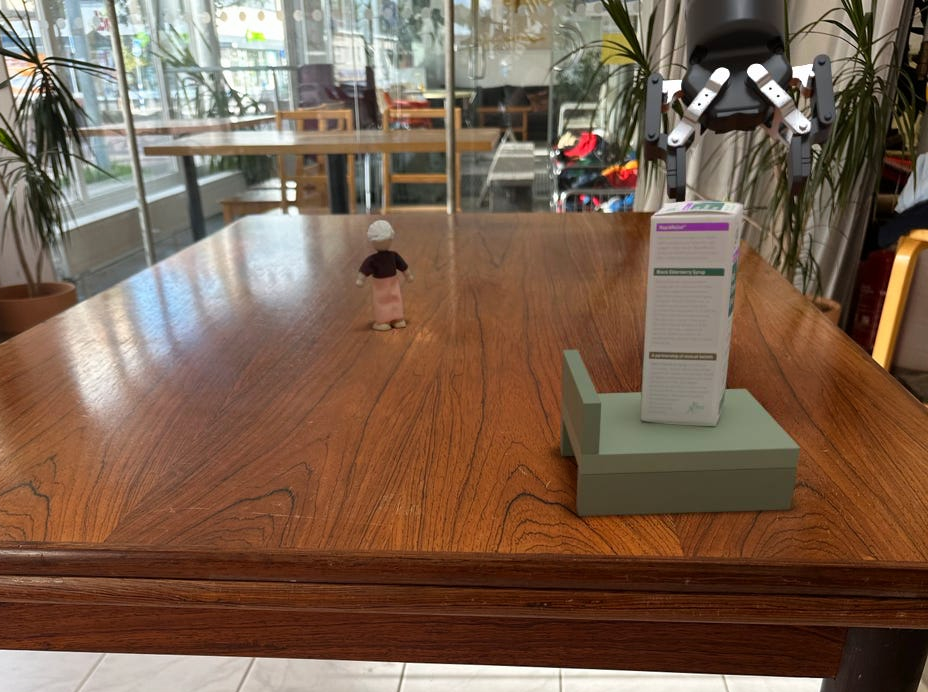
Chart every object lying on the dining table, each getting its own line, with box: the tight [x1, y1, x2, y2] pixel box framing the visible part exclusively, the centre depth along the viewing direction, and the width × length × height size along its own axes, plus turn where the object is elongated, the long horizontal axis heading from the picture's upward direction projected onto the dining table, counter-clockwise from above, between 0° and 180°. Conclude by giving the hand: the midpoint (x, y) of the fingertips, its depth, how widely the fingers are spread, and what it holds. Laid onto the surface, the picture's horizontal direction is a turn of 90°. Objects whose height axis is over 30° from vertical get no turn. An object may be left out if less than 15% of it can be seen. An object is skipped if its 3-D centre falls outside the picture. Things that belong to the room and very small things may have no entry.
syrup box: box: [640, 199, 744, 426], centre depth 68 cm, size 6×6×14 cm
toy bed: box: [559, 349, 801, 517], centre depth 71 cm, size 15×14×9 cm
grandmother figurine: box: [355, 219, 414, 331], centre depth 117 cm, size 8×4×13 cm, turn 130°
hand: (737, 194), depth 73 cm, fingers open, 8 cm apart
